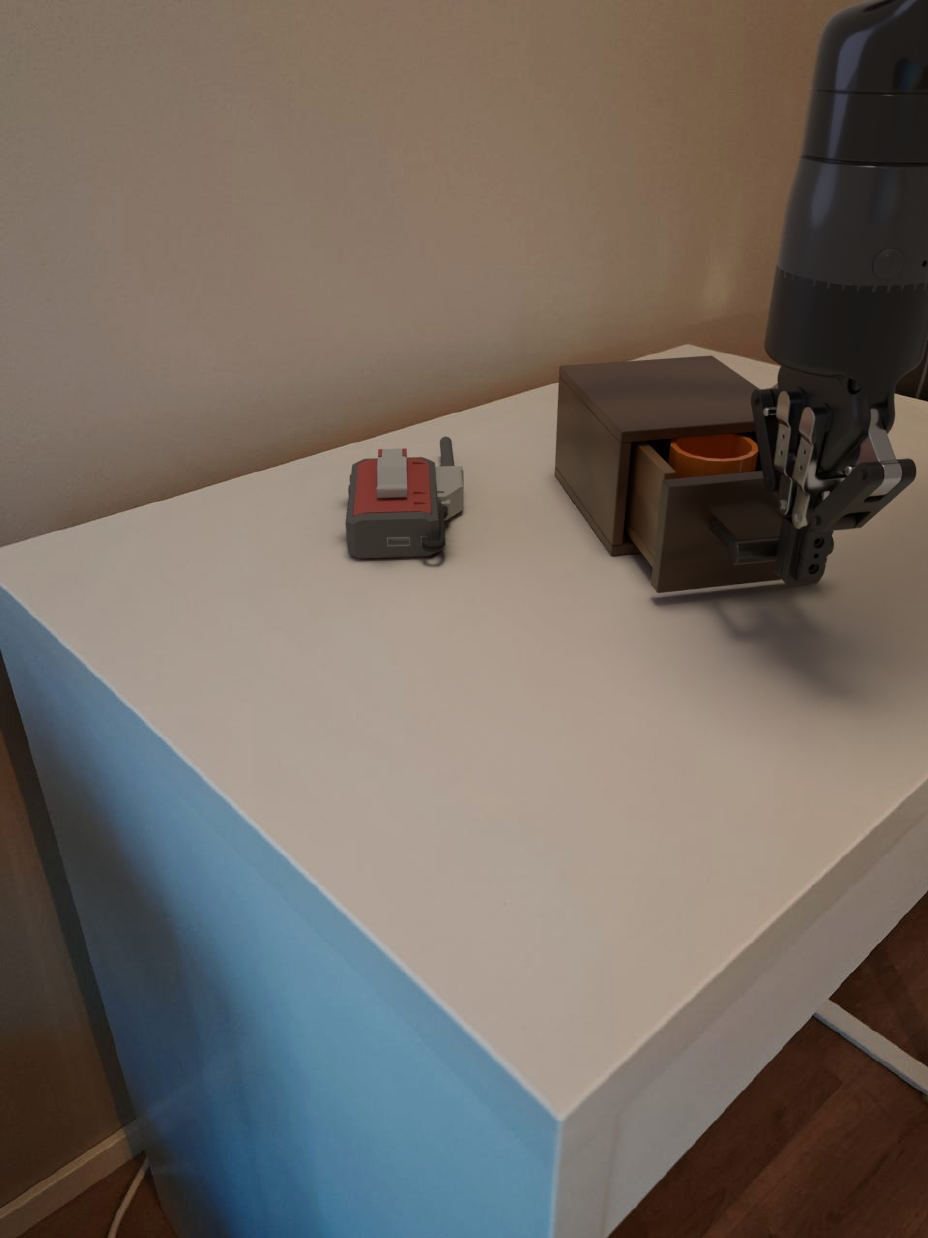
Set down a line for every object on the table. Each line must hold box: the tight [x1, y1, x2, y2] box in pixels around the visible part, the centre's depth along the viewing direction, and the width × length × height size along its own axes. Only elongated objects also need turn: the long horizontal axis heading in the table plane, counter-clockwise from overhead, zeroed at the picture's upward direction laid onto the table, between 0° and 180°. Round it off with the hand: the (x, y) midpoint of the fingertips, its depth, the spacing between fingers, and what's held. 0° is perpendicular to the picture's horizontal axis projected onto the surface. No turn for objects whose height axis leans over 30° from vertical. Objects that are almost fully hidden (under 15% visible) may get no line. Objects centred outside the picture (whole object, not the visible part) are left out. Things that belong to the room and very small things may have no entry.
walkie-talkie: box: [345, 436, 465, 560], centre depth 73 cm, size 9×4×20 cm
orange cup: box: [668, 433, 758, 479], centre depth 65 cm, size 6×6×6 cm
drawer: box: [624, 432, 835, 594], centre depth 64 cm, size 18×11×7 cm, turn 11°
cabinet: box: [554, 354, 760, 557], centre depth 72 cm, size 15×13×9 cm
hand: (796, 579), depth 55 cm, fingers closed
